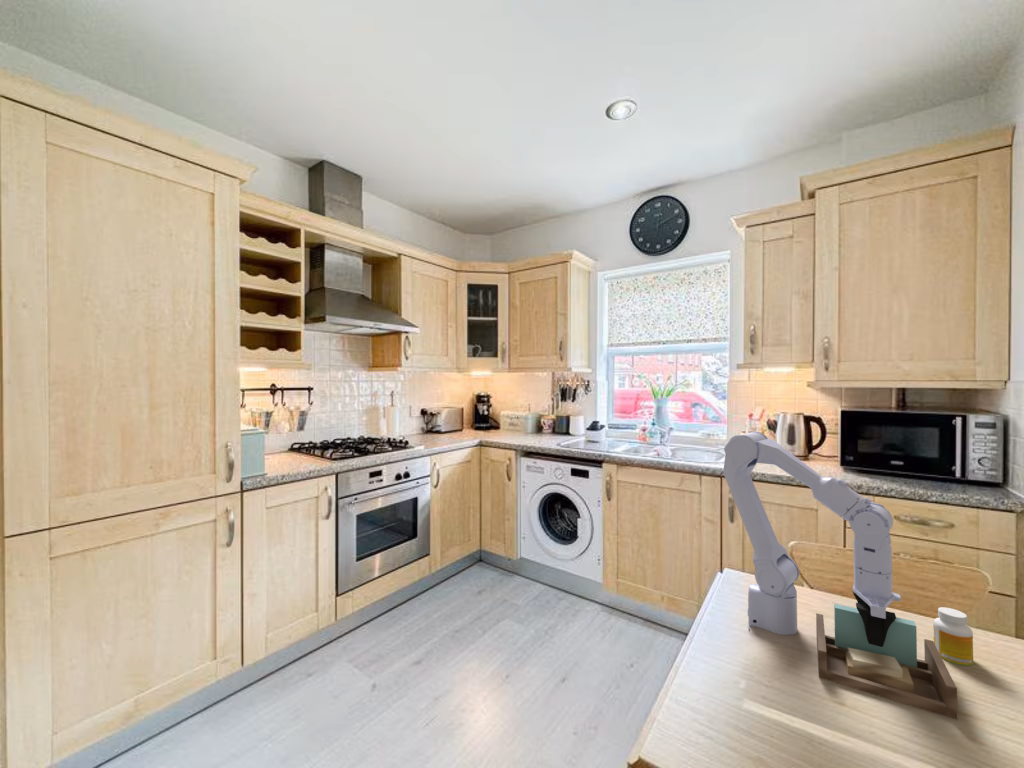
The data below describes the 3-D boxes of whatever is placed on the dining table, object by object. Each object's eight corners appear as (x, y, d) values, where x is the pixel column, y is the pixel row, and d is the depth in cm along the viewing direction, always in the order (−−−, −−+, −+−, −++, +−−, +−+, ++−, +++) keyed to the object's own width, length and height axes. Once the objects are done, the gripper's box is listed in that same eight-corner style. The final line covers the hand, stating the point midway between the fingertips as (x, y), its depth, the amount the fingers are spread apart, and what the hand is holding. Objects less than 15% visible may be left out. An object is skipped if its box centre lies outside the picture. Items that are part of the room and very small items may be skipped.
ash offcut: (853, 667, 78) (853, 659, 78) (847, 655, 82) (847, 647, 82) (902, 678, 75) (902, 670, 75) (894, 665, 79) (894, 657, 79)
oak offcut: (847, 673, 79) (847, 665, 79) (845, 659, 83) (845, 651, 83) (913, 692, 74) (913, 684, 74) (907, 676, 78) (907, 668, 78)
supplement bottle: (981, 672, 80) (980, 621, 80) (948, 669, 81) (947, 618, 81) (958, 654, 86) (957, 606, 86) (926, 651, 87) (926, 604, 87)
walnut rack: (818, 682, 78) (818, 649, 78) (816, 641, 90) (816, 613, 90) (957, 725, 68) (956, 688, 68) (933, 672, 80) (933, 640, 80)
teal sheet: (835, 652, 85) (834, 607, 85) (834, 647, 87) (834, 603, 87) (917, 675, 78) (916, 626, 78) (914, 668, 80) (914, 621, 80)
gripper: (907, 588, 74) (909, 665, 74) (893, 559, 86) (894, 626, 86) (856, 578, 78) (857, 652, 78) (849, 552, 90) (850, 616, 90)
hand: (873, 637), depth 83 cm, fingers open, 4 cm apart
